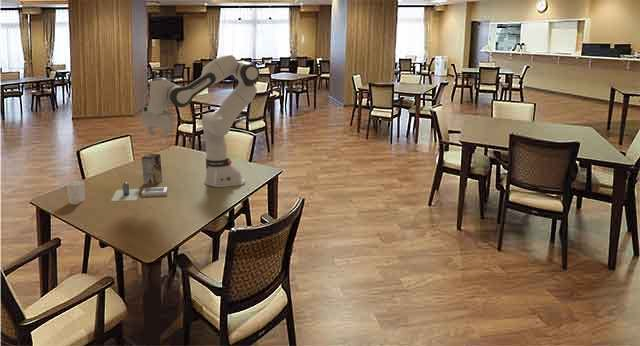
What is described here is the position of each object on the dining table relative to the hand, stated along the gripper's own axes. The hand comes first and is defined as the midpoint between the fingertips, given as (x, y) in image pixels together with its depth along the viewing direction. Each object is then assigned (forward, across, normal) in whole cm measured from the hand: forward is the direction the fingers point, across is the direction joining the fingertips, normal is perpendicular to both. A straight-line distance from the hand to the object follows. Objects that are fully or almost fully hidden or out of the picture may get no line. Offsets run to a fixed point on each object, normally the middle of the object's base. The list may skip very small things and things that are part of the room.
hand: (157, 136), depth 263 cm
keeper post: (+30, +5, +16) cm, 34 cm away
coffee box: (+30, +11, -7) cm, 32 cm away
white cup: (+33, +17, +35) cm, 51 cm away
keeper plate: (+31, +5, +16) cm, 35 cm away
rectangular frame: (+30, -6, +6) cm, 31 cm away
